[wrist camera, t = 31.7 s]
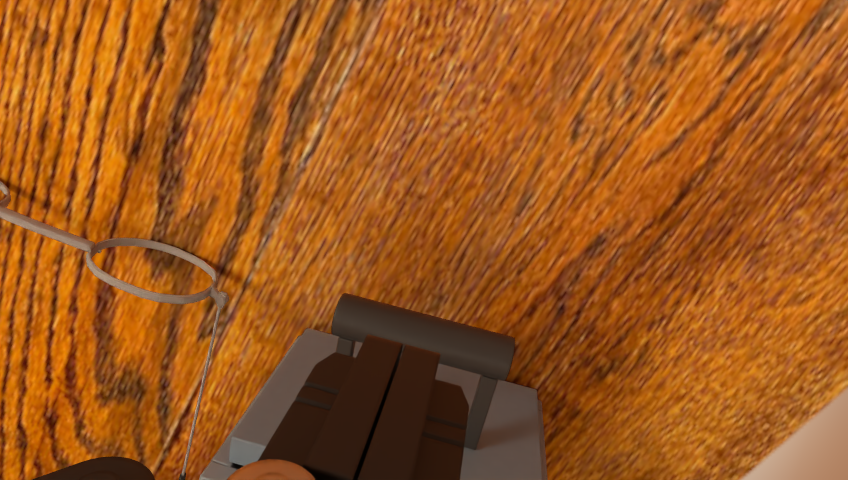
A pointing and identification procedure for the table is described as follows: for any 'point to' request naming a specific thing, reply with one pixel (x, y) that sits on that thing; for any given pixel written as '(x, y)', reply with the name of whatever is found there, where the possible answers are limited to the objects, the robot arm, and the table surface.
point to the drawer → (459, 364)
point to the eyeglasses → (92, 249)
